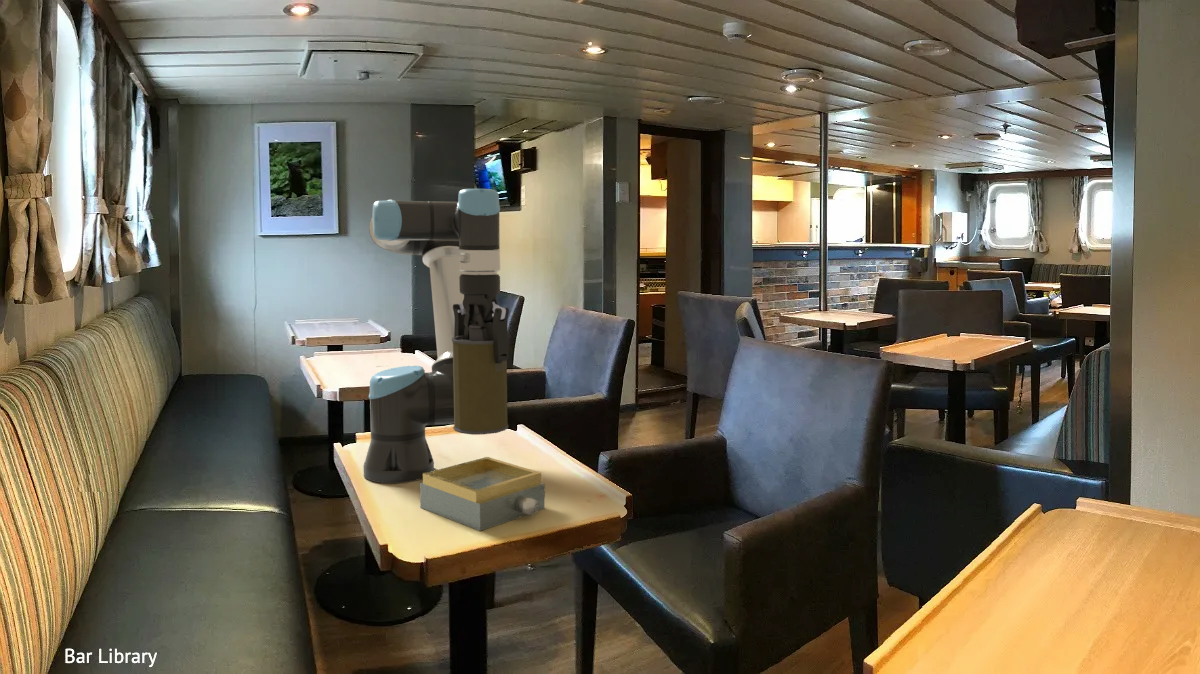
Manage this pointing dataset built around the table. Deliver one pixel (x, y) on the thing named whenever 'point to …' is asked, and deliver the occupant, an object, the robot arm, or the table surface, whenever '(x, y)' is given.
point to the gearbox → (482, 492)
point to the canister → (478, 385)
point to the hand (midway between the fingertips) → (481, 395)
